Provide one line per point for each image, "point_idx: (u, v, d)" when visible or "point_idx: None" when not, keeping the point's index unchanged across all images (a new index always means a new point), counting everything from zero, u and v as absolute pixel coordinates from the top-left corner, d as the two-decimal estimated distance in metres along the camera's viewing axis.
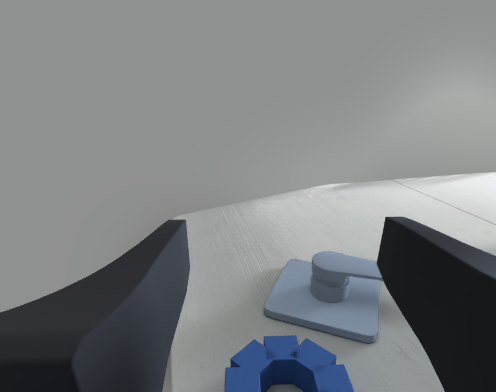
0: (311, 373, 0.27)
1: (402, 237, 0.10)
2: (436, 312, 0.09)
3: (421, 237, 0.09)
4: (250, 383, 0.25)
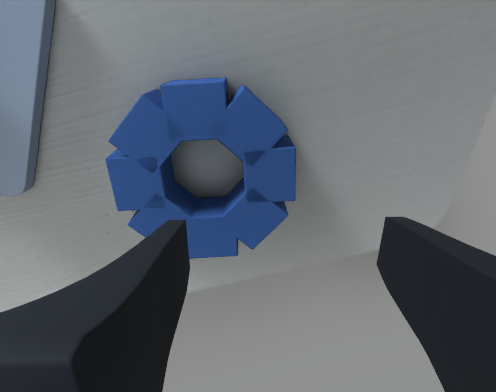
0: (180, 141, 0.17)
1: (402, 237, 0.10)
2: (436, 312, 0.09)
3: (421, 237, 0.09)
4: (210, 228, 0.19)
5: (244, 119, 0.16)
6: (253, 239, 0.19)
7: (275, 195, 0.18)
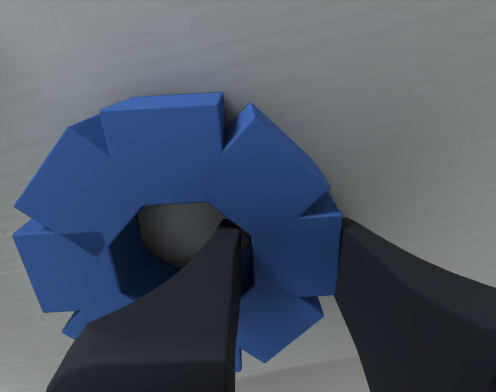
0: None
1: None
2: (364, 313, 0.09)
3: (353, 238, 0.09)
4: None
5: (255, 170, 0.09)
6: (266, 350, 0.12)
7: (304, 287, 0.11)
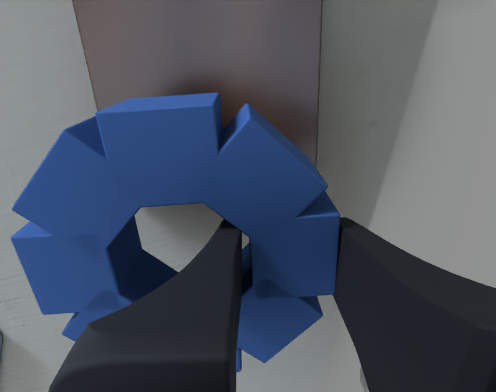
0: None
1: (339, 238, 0.10)
2: (363, 314, 0.09)
3: (352, 238, 0.09)
4: None
5: (252, 170, 0.09)
6: (266, 349, 0.12)
7: (303, 287, 0.11)
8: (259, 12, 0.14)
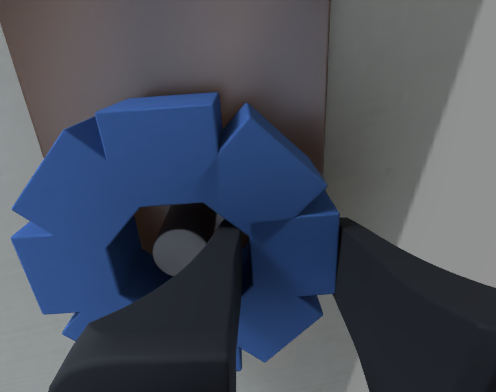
0: None
1: (339, 238, 0.10)
2: (364, 313, 0.09)
3: (353, 238, 0.09)
4: None
5: (251, 169, 0.09)
6: (266, 349, 0.12)
7: (303, 287, 0.11)
8: (247, 43, 0.11)
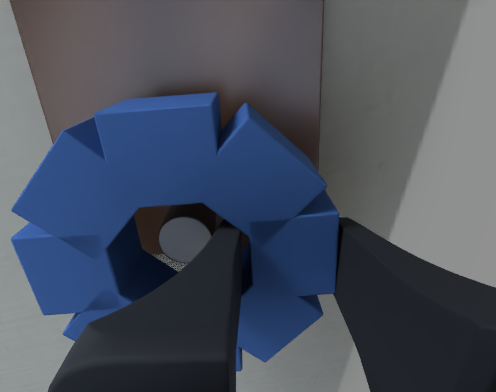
0: None
1: (340, 238, 0.10)
2: (365, 313, 0.09)
3: (354, 238, 0.09)
4: None
5: (251, 170, 0.09)
6: (266, 349, 0.12)
7: (303, 287, 0.11)
8: (247, 44, 0.12)
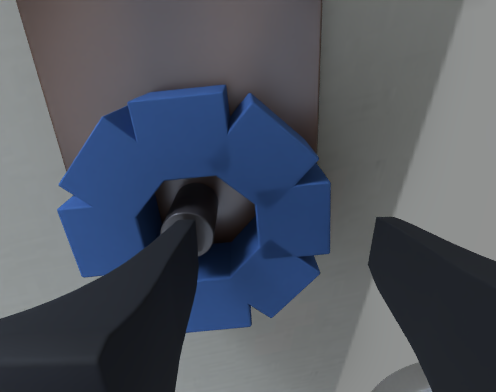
0: None
1: (391, 237, 0.10)
2: (424, 312, 0.09)
3: (410, 237, 0.09)
4: (212, 294, 0.13)
5: (255, 146, 0.11)
6: (272, 305, 0.14)
7: (302, 248, 0.13)
8: (247, 45, 0.12)
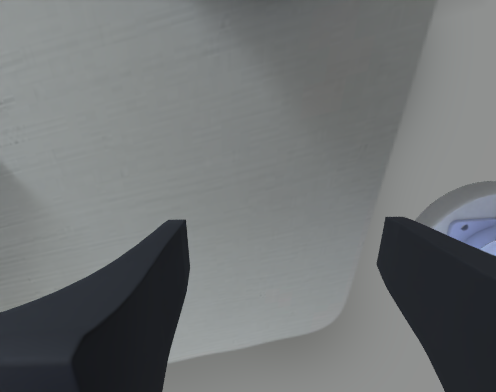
0: None
1: (401, 237, 0.10)
2: (436, 312, 0.09)
3: (421, 237, 0.09)
4: None
5: None
6: None
7: None
8: None
